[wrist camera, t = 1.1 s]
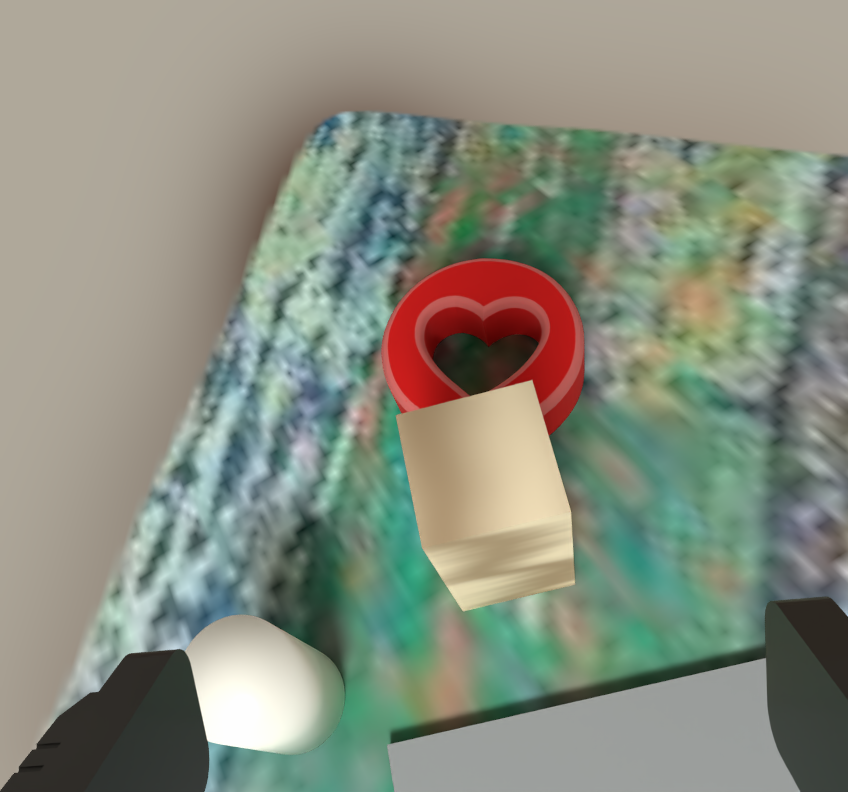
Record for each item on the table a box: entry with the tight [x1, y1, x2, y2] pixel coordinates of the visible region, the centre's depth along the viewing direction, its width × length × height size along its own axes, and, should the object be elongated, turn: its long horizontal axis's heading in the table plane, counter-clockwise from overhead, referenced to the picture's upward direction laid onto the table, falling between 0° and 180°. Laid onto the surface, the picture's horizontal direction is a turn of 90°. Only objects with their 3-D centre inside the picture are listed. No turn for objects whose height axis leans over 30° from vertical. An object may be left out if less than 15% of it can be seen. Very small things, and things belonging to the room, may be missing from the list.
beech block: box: [396, 380, 575, 611], centre depth 32 cm, size 5×5×10 cm
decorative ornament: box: [381, 258, 584, 435], centre depth 40 cm, size 10×10×3 cm
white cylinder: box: [185, 615, 345, 755], centre depth 32 cm, size 4×4×7 cm
